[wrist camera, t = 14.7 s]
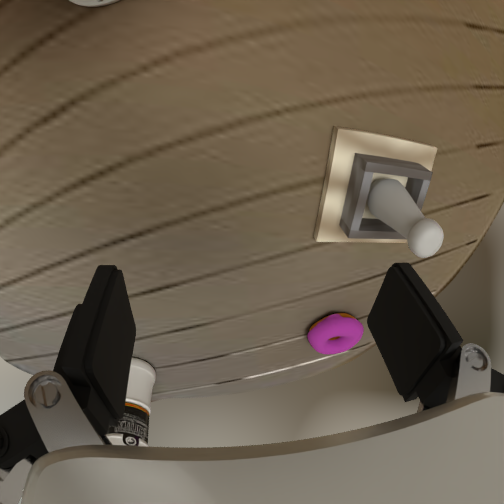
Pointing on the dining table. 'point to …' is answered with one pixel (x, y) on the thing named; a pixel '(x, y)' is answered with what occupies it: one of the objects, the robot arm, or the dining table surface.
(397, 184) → the salt shaker
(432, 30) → the dining table surface
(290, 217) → the dining table surface
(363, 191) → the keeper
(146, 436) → the vodka
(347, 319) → the donut
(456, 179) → the dining table surface
